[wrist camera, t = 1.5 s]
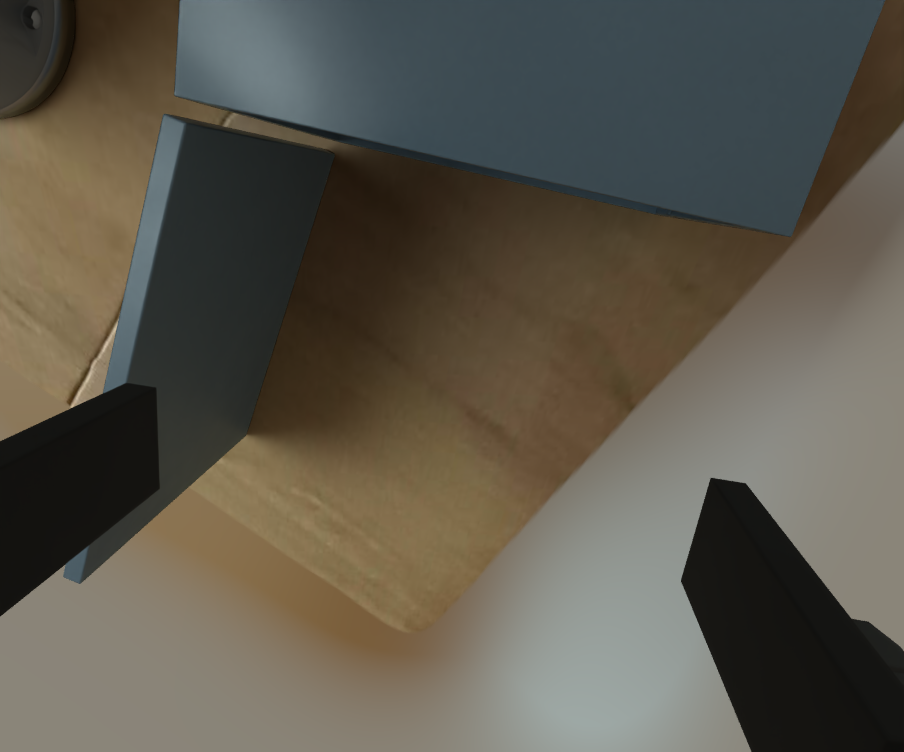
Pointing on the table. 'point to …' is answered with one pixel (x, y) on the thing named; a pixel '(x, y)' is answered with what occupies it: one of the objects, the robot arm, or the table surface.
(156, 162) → the fridge door
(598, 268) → the table surface
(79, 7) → the table surface
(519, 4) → the fridge
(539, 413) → the table surface
